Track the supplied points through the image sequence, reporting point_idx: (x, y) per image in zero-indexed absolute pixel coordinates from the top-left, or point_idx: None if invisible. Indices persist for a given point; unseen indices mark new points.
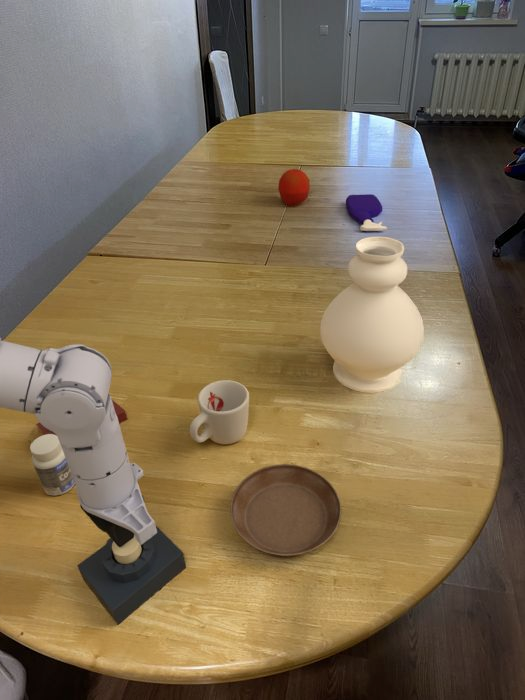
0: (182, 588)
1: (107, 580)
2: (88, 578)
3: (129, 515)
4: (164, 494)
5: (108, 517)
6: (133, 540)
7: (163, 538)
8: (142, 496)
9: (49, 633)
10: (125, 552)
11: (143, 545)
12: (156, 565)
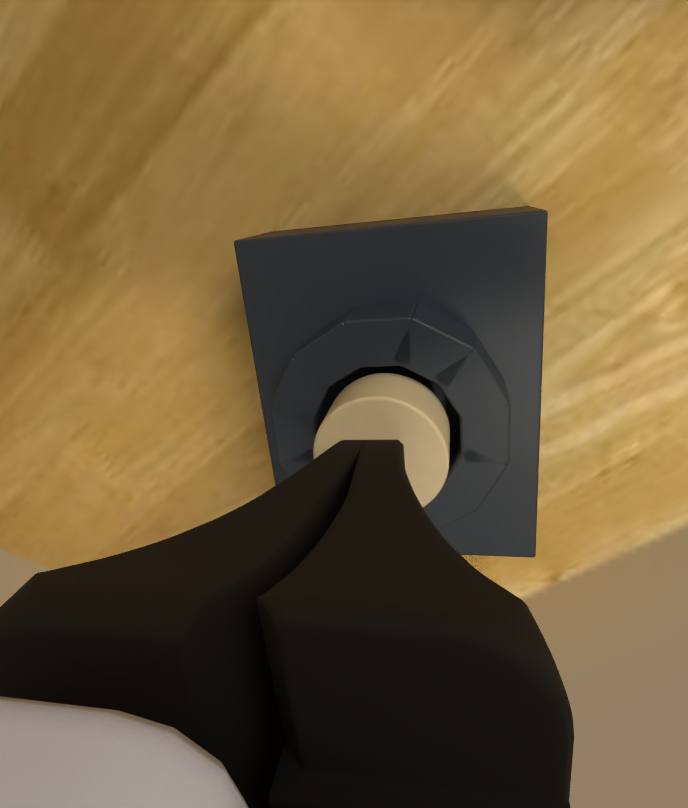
0: (592, 272)
1: None
2: None
3: None
4: (141, 74)
5: None
6: (391, 426)
7: (405, 245)
8: (477, 650)
9: None
10: (423, 484)
11: (414, 371)
12: (504, 347)
